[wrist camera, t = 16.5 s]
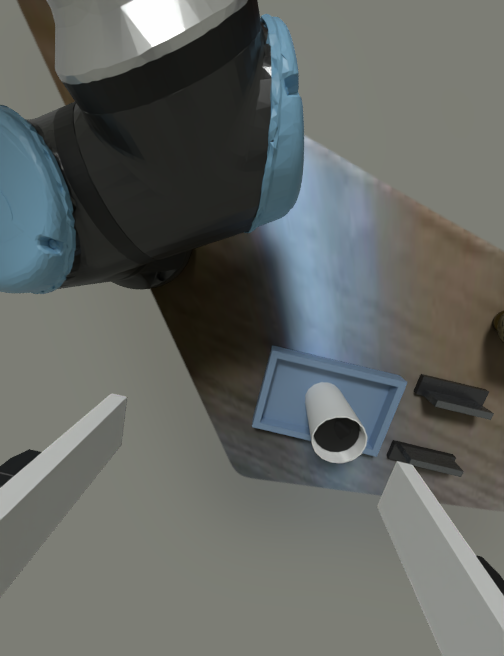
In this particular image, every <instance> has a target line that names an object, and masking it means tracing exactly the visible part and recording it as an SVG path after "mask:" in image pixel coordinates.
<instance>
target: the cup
mask: <svg viewBox="0 0 504 656" xmlns="http://www.w3.org/2000/svg"><path fill="white" fill-rule="evenodd" d="M493 326H494V328H495V330H496V331H497V332H498V335H499V337H500V339H501V340H502V341H503V342H504V310H503V311H501V312H499V313H498V314H497V315H496V316H495V318H494V321H493Z"/></svg>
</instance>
